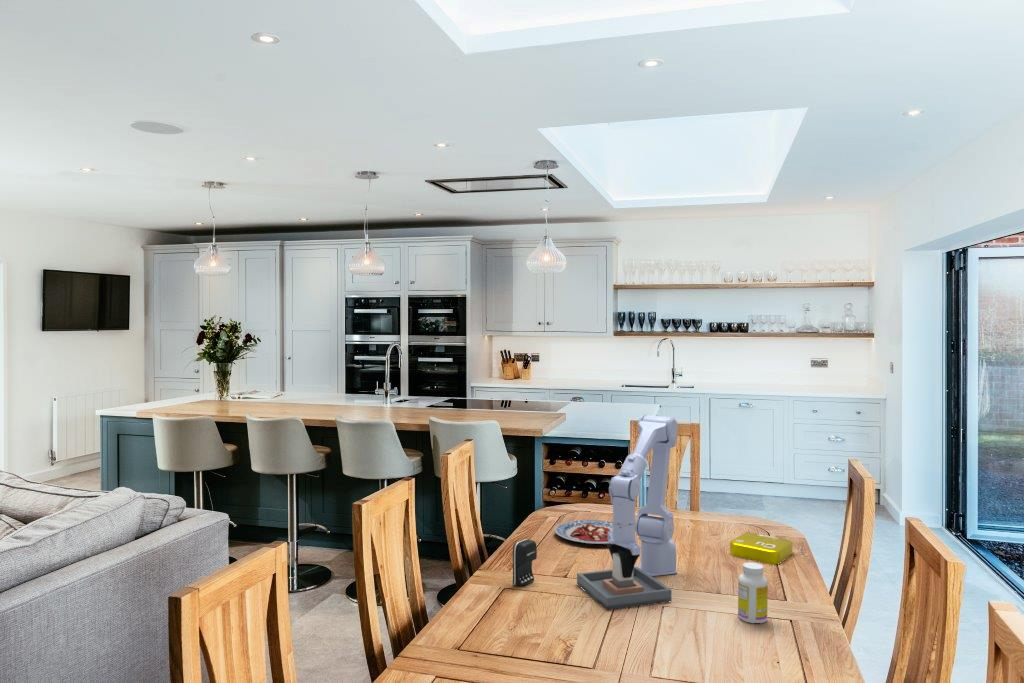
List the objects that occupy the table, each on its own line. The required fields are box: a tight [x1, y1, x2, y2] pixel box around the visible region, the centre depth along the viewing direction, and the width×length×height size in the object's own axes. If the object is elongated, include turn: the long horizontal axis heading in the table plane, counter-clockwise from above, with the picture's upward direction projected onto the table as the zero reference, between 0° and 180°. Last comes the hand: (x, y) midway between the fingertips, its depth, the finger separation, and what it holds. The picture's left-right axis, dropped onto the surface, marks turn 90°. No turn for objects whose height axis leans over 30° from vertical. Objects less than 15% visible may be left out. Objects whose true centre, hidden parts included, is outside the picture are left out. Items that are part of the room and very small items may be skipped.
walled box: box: [576, 566, 672, 611], centre depth 186 cm, size 18×18×3 cm
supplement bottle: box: [737, 562, 769, 624], centre depth 171 cm, size 7×7×13 cm
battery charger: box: [512, 538, 538, 587], centre depth 193 cm, size 7×4×11 cm, turn 143°
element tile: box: [729, 531, 793, 565], centre depth 219 cm, size 15×15×5 cm
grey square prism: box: [611, 553, 633, 588], centre depth 186 cm, size 4×4×8 cm
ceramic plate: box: [554, 519, 613, 545], centre depth 235 cm, size 26×26×3 cm
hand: (623, 574), depth 186 cm, fingers closed on grey square prism, 4 cm apart
